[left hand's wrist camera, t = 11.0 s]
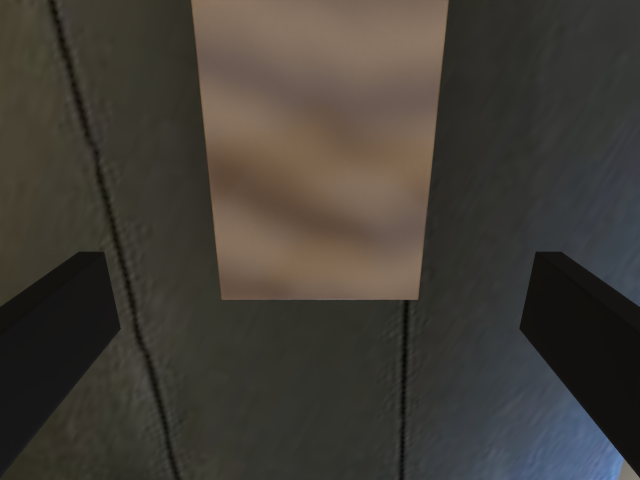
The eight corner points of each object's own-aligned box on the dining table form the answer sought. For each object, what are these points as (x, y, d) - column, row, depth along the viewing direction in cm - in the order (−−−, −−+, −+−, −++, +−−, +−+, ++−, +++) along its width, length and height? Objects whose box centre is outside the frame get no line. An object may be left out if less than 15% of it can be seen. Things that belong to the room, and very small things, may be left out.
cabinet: (225, -125, 22) (164, -258, 13) (414, -124, 22) (475, -258, 13) (249, 236, 30) (220, 299, 21) (389, 237, 30) (418, 300, 21)
